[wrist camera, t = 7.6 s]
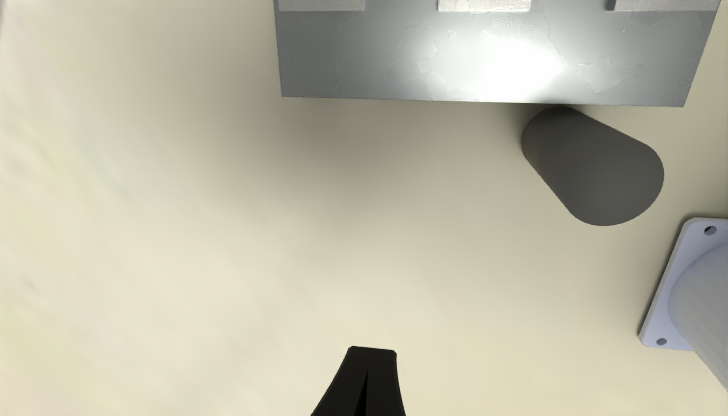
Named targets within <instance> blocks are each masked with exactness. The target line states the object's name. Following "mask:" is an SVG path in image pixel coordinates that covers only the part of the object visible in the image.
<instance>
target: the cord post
mask: <svg viewBox="0 0 728 416" xmlns="http://www.w3.org/2000/svg"><path fill="white" fill-rule="evenodd" d="M522 151H523V154H524V156H525V158H526V159H527V160H528V162H529V163H530V164H531V165H532V167H533V168H534V169H535V170H536V171H537V173H538V174H539V175H540V176H541V177H542V179H543V180H544V181H545V182H546V184H547V185H548V186H549V187H550V188H551V190H552V191H553V192H554V193H555V194H556V196H557V197H558V198H559V199H560V201H561V202H562V203H563V204H564V205H565V207H566V208H567V209H568V210H569V212H570V213H571V214H572V215H573V216H575V217H576V218H577V219H579V220H581V221H583V222H585V223H588V224H591V225H597V226H611V225H617V224H621V223H624V222H627V221H629V220H631V219H633V218H635V217H637V216H639V215H640V214H641V213H643V212H644V211H645V210H646V209H648V208H649V207H650V206H651V204H652V203H653V202H654V201H655V199H656V198H657V197H658V195H659V193H660V191H661V188H662V185H663V181H664V168H663V164H662V162H661V159H660V157H659V156H658V155H657V153H656V152H655V151H654V150H653V149H652V148H650V147H649V146H648V145H646V144H644V143H642V142H640V141H638V140H636V139H634V138H632V137H630V136H628V135H626V134H624V133H622V132H619V131H617V130H615V129H613V128H611V127H609V126H607V125H605V124H603V123H601V122H599V121H597V120H595V119H593V118H591V117H589V116H587V115H585V114H583V113H581V112H579V111H576V110H574V109H571V108H567V107H556V108H551V109H548V110H545V111H543V112H541V113H540V114H538V115H537V116H536V117H534V118H533V119H532V120H531V121H530V123H529V124H528V125H527V127H526V129H525V131H524V133H523V137H522Z"/></svg>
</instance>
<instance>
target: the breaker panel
mask: <svg viewBox="0 0 728 416" xmlns="http://www.w3.org/2000/svg"><path fill="white" fill-rule="evenodd" d="M720 1H721V0H274V11H275V23H276V34H277V45H278V57H279V68H280V80H281V91H282V97H320V98H359V99H397V100H436V101H474V102H512V103H551V104H589V105H628V106H666V107H684V104H685V101H686V98H687V96H688V93H689V90H690V87H691V84H692V81H693V78H694V76H695V73H696V70H697V67H698V64H699V61H700V58H701V56H702V53H703V50H704V47H705V44H706V41H707V39H708V36H709V33H710V30H711V27H712V24H713V21H714V19H715V16H716V13H717V10H718V7H719V4H720Z"/></svg>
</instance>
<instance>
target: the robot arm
mask: <svg viewBox="0 0 728 416" xmlns="http://www.w3.org/2000/svg"><path fill="white" fill-rule="evenodd" d="M709 226H711V228H710V229H709V230H707V231H704V230H705V229H706V228H707V227H709ZM660 338H662V339H660ZM658 339H660V340H658ZM639 340H640V341H641V343H642V344H643V345H644V346H647V347H655V348H665V349H676V350H686V351H695V352H696V354H697V355H698V356H699V357H700V358H701V360H702V361H703V362H704V363H705V364H706V366H707V367H708V368H709V369H710V371H711V372H712V373H713V374H714V375H715V377H716V378H717V379H718V380H719V382H720V383H721V384H722V385H723V386H724V388H725V389H726V390H727V391H728V219H718V218H701V217H697V218H692V219H689V220H688V221H687V222H685V224H684V225H683V227H682V230H681V232H680V235H679V237H678V240H677V242H676V245H675V247H674V250H673V252H672V255H671V257H670V260H669V262H668V265H667V267H666V269H665V272H664V274H663V277H662V279H661V282H660V284H659V287H658V289H657V292H656V294H655V297H654V299H653V302H652V304H651V307H650V309H649V312H648V314H647V317H646V319H645V322H644V324H643V327H642V329H641V332H640V334H639ZM396 358H397V353H396V352H395V351H394V350H387V349H378V348H368V347H358V346H351V347H350V348H348V351H347V353H346V355H345V358H344V360H343V362H342V364H341V366H340V368H339V370H338V372H337V373H336V375H335V377H334V379H333V381H332V382H331V384H330V386H329V387H328V389H327V391H326V392H325V394H324V395H323V397H322V399H321V400H320V402H319V404H318V405H317V407H316V408H315V410H314V411H313V413H312V414H311V416H406V415H405V410H404V406H403V402H402V398H401V393H400V387H399V381H398V374H397V361H396Z"/></svg>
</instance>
